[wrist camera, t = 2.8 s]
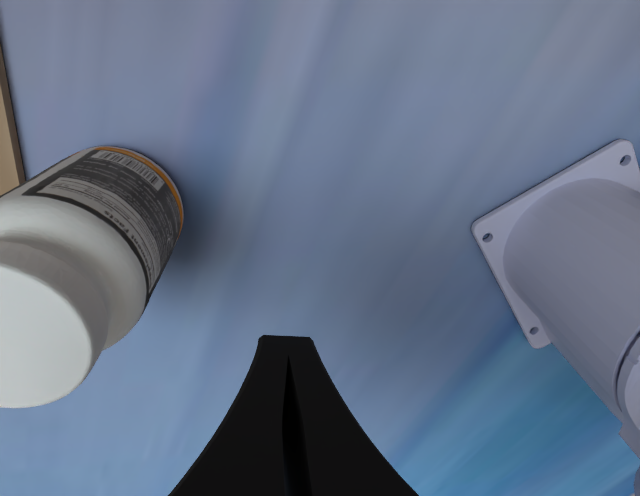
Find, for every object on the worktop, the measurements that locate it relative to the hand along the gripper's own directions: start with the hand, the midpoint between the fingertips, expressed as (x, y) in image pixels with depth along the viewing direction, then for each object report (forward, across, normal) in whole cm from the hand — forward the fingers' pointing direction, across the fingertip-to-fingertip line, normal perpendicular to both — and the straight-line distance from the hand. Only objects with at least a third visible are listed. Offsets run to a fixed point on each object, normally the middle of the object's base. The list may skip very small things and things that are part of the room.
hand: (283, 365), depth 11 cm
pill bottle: (+10, +7, 0) cm, 13 cm away
